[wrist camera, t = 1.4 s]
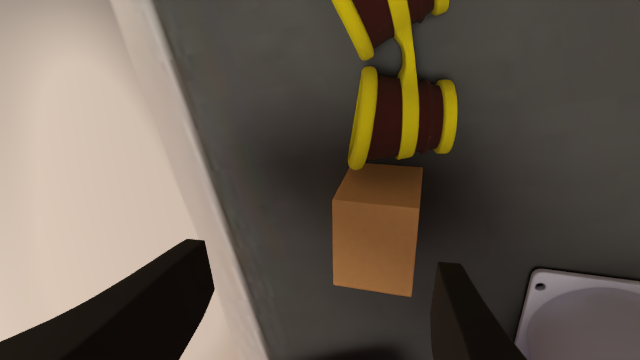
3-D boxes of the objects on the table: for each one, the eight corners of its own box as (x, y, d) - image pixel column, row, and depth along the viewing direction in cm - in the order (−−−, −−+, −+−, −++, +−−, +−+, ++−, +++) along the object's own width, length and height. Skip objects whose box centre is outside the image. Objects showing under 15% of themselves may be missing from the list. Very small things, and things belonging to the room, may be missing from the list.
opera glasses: (444, 136, 21) (471, 168, 16) (349, 152, 22) (348, 187, 17) (427, -67, 17) (453, -99, 13) (314, -39, 18) (301, -61, 14)
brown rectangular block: (416, 242, 23) (411, 297, 19) (351, 234, 24) (333, 285, 20) (422, 167, 21) (419, 208, 17) (352, 161, 22) (331, 199, 18)
